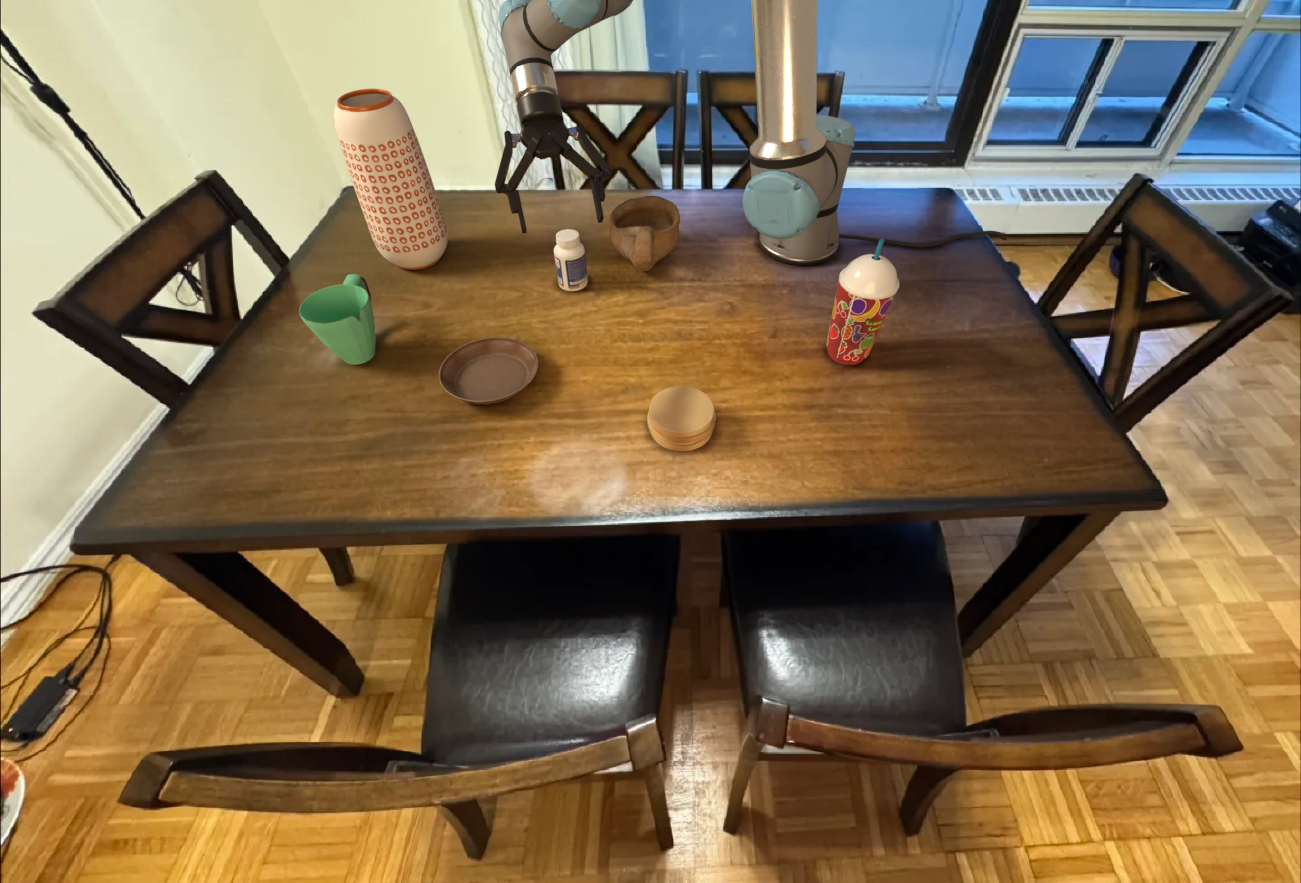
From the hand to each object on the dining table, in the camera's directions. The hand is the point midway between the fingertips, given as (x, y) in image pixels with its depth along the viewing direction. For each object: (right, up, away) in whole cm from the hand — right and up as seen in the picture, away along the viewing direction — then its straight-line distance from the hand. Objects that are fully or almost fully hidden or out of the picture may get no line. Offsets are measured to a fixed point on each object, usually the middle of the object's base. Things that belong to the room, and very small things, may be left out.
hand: (563, 225), depth 103 cm
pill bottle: (+1, -9, +5) cm, 10 cm away
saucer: (-9, -28, -12) cm, 32 cm away
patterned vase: (-30, -2, +11) cm, 31 cm away
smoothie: (+47, -24, -9) cm, 53 cm away
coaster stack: (+20, -36, -19) cm, 45 cm away
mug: (-32, -22, -7) cm, 39 cm away
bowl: (+15, -2, +11) cm, 18 cm away
